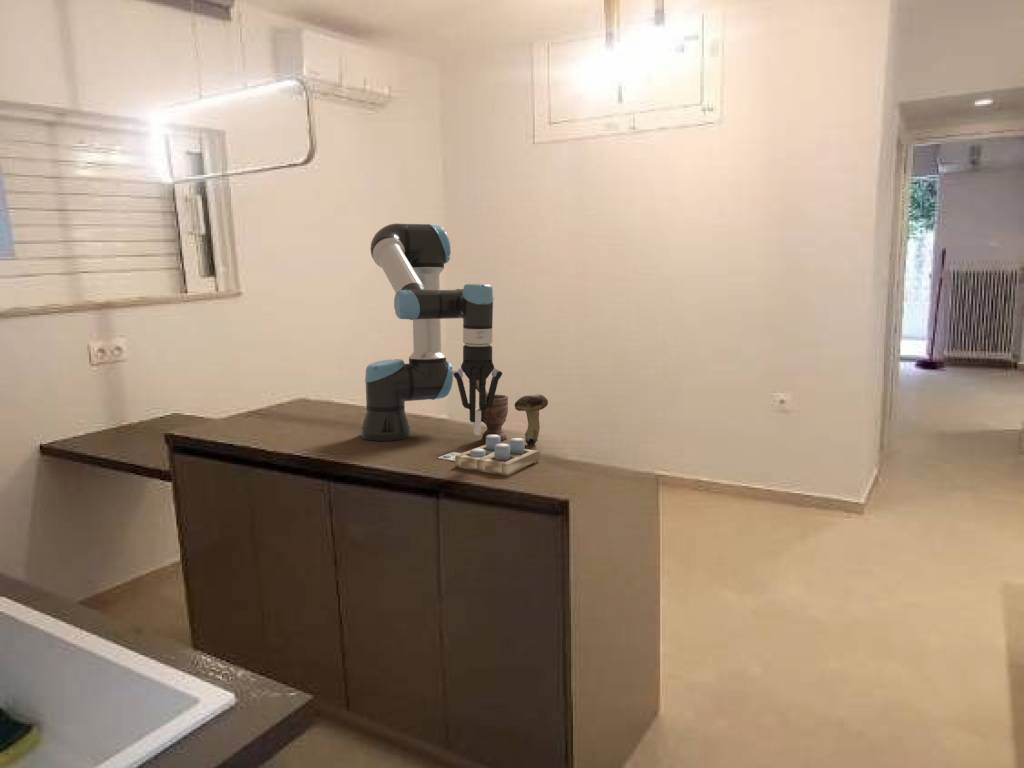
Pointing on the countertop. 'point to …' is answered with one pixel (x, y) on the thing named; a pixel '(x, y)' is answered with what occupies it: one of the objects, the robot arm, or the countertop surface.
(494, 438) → the button
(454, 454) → the card
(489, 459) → the wooden compartment tray
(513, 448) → the button
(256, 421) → the countertop surface
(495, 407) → the mortar and pestle
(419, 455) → the countertop surface
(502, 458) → the button
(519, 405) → the mushroom
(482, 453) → the button
